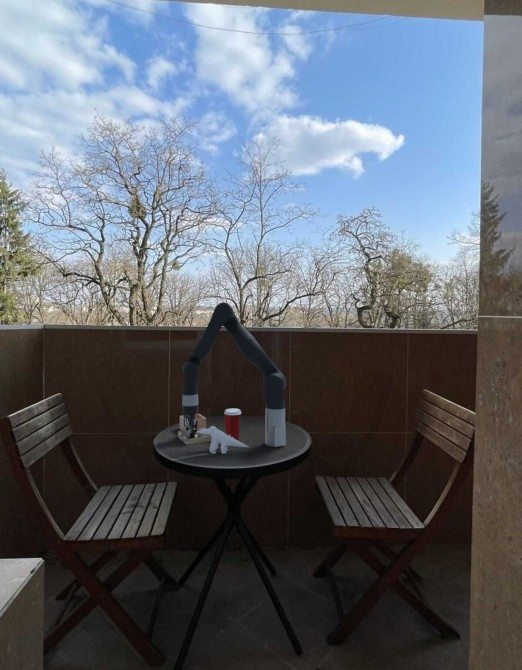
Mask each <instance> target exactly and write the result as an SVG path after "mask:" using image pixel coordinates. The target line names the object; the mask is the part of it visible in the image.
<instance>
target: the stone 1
mask: <svg viewBox="0 0 522 670" xmlns="http://www.w3.org/2000/svg"><path fill="white" fill-rule="evenodd" d="M186 438H187V439H190V430H186Z"/></svg>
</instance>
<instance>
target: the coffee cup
mask: <svg viewBox="0 0 522 670" xmlns="http://www.w3.org/2000/svg"><path fill="white" fill-rule="evenodd" d="M223 414H224V421H225V422H224V423H225V426H224V427H225V434H226V435H228V436H230V435H231V437H233V438H234V439H236V440H237V441H240V429H241V428H240V427H241V416H242V415H241V414H242V411H241V409H239V408H226V409H225V410H224V412H223Z"/></svg>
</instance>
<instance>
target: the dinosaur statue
mask: <svg viewBox="0 0 522 670" xmlns="http://www.w3.org/2000/svg"><path fill="white" fill-rule="evenodd" d="M197 433H201V434H207V435H211V437H212V439H211V441H210V445H209V453H210V454H212V455H215V454H217V449H218V448H219V445H220V452H221V454H222V455H224V454H225V455H227V452H228V447H236V448H237V447H242V448H249V446H248V445H246V444H245V443H243V442H241V441H240V440H236V439H234V438H233V437H231V435H230V436H228V435H226V432H223V431H221V430H220V429H218V428H217V427H216V426H215V425H211V426H210V427H208V428H206V429H205V430H202V431H197Z"/></svg>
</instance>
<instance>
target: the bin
mask: <svg viewBox="0 0 522 670" xmlns="http://www.w3.org/2000/svg"><path fill="white" fill-rule="evenodd" d="M195 419H196V420H197V429H199V428H206V429H207V417H205V416H203V415H202V414H200V413H197V414H195ZM184 430H186V429H185V427H184V414H182V415H179V431H184Z"/></svg>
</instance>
